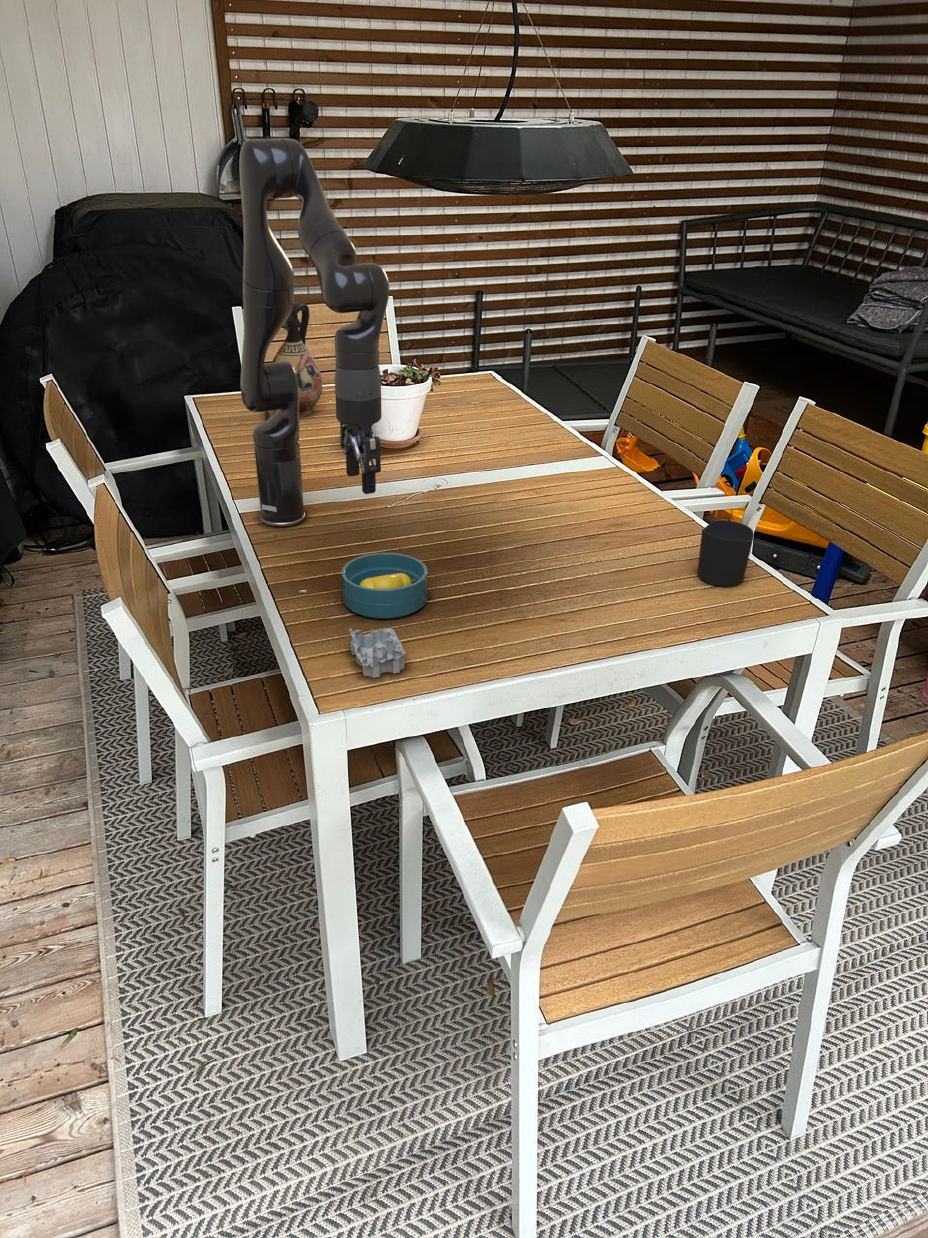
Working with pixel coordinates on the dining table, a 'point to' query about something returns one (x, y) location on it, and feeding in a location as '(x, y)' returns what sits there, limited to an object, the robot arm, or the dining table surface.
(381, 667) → the egg carton
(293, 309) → the ceramic jug
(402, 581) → the squash
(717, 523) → the pen holder
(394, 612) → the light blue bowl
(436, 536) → the dining table surface
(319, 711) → the dining table surface
